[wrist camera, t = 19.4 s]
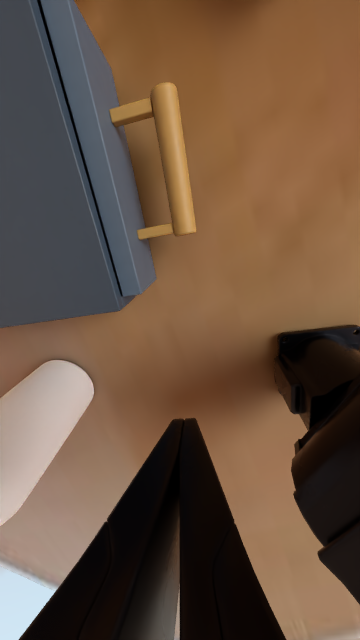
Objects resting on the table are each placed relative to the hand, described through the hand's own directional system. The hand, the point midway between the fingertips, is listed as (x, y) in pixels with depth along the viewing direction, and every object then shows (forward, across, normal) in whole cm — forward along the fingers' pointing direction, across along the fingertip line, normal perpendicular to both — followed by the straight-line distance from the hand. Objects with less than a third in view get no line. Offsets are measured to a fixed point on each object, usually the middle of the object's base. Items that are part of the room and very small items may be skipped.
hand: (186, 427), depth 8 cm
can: (+12, +15, +6) cm, 20 cm away
